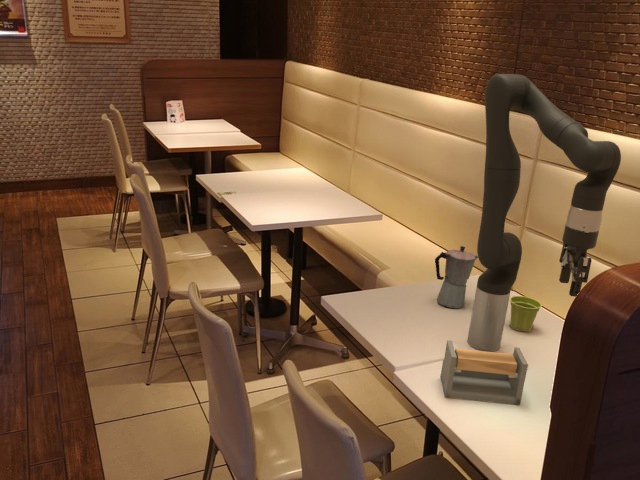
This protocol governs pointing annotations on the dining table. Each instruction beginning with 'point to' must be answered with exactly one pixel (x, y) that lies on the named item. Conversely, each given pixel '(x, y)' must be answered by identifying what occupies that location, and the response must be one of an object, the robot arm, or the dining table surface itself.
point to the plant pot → (523, 312)
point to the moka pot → (455, 277)
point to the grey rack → (482, 381)
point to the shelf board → (485, 361)
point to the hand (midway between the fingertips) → (568, 289)
